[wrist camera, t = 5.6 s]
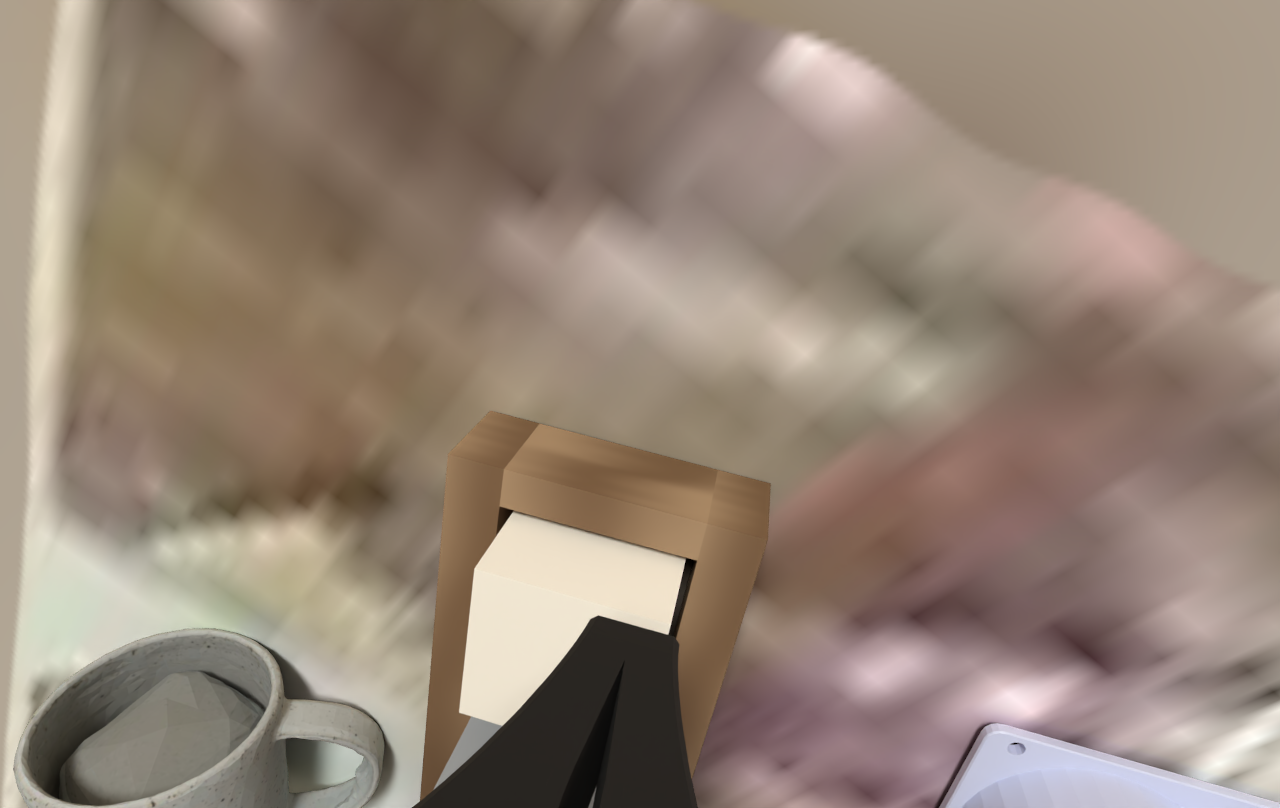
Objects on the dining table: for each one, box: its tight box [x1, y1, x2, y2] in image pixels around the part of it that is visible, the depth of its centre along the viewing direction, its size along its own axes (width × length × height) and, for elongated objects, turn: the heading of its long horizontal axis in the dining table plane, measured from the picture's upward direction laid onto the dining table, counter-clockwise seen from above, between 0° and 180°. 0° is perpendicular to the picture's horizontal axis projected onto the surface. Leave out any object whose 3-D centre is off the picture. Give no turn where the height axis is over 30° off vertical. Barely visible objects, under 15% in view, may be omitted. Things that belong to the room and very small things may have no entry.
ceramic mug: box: [13, 629, 384, 808], centre depth 26 cm, size 11×8×8 cm
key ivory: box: [459, 511, 686, 726], centre depth 20 cm, size 5×5×4 cm
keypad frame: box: [420, 411, 771, 801], centre depth 26 cm, size 9×27×3 cm, turn 169°
